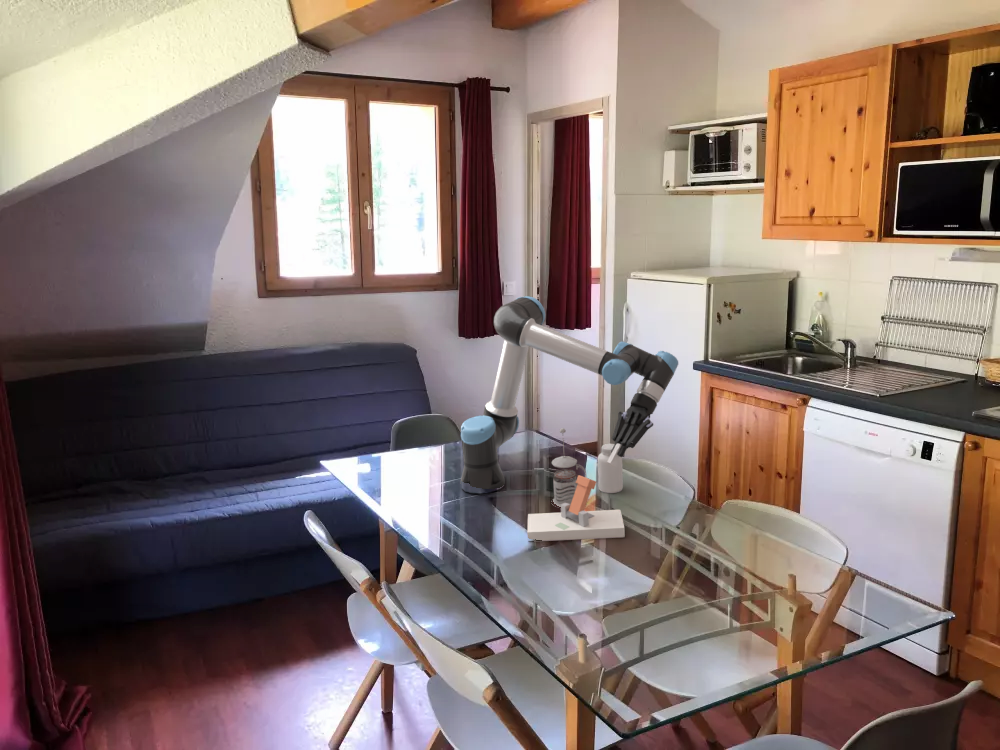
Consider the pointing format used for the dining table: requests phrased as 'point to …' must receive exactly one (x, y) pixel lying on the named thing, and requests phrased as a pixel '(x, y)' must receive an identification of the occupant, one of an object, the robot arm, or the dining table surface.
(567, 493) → the french press
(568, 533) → the white switch base plate
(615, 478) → the pill bottle
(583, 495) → the lever
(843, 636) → the dining table surface
